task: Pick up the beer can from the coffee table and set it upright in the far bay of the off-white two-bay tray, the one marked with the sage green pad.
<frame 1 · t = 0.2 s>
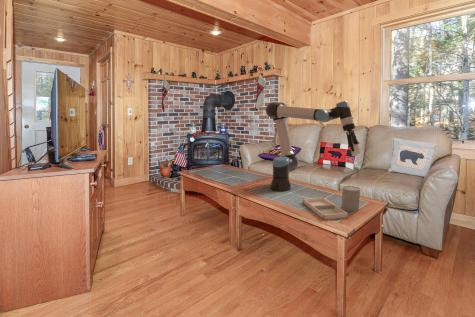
hand: (356, 154, 178), 28 cm above the table, tool tilted 20°, fingers open, 13 cm apart
bay tray: (323, 209, 156), on the table
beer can: (350, 208, 157), on the table
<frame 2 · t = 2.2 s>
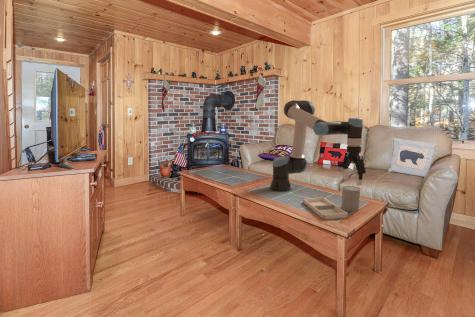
hand: (352, 182, 154), 16 cm above the table, tool pointing down, fingers open, 13 cm apart
nothing on the table moved.
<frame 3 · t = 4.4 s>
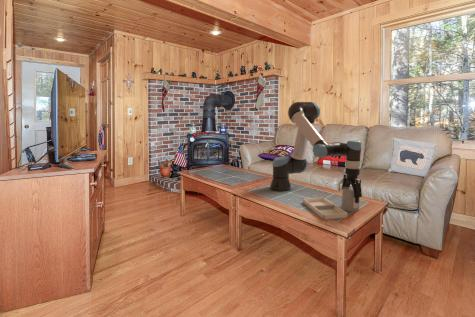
hand: (350, 204, 157), 2 cm above the table, tool pointing down, fingers closed on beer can, 9 cm apart
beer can: (350, 208, 157), on the table, touching gripper
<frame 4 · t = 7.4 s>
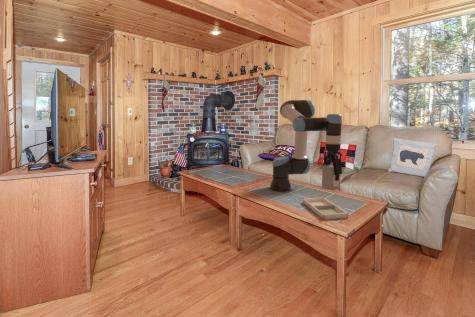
hand: (330, 183, 146), 17 cm above the table, tool pointing down, fingers closed on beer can, 9 cm apart
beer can: (330, 187, 147), point 15 cm above the table, touching gripper
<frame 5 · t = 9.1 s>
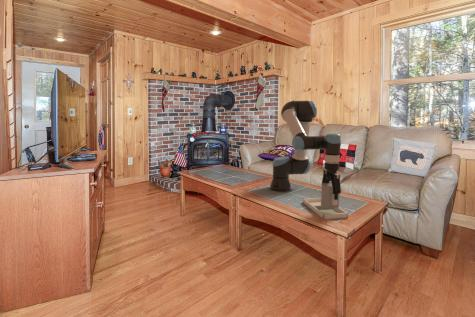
hand: (330, 202, 148), 7 cm above the table, tool pointing down, fingers closed on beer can, 9 cm apart
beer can: (329, 206, 148), point 5 cm above the table, touching gripper
when the fingers open (4 cm above the table, at t = 10.7 s): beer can drops 1 cm, resting on bay tray.
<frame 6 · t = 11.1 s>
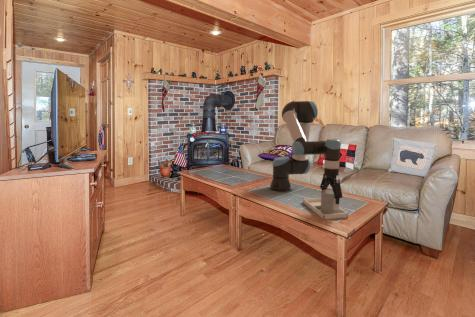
hand: (329, 205, 148), 5 cm above the table, tool pointing down, fingers open, 13 cm apart
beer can: (329, 213, 149), resting on bay tray
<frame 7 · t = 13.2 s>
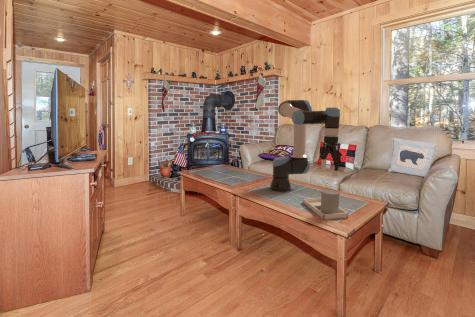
hand: (328, 173, 151), 22 cm above the table, tool pointing down, fingers open, 13 cm apart
nothing on the table moved.
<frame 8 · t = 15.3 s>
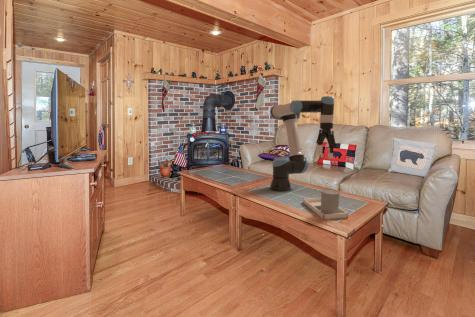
hand: (325, 156, 167), 29 cm above the table, tool pointing down, fingers open, 13 cm apart
nothing on the table moved.
at the end: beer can 0.1 cm from the target spot on the bay tray, point 0.3 cm above the bay tray's base; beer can tilted 0°; the gripper is holding nothing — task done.
